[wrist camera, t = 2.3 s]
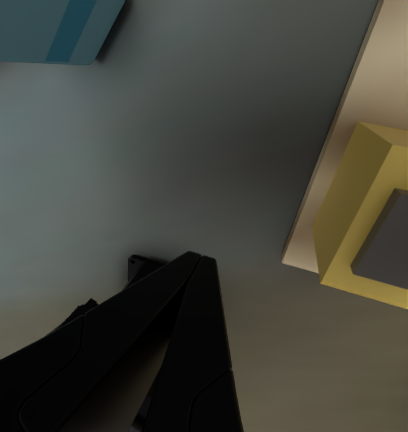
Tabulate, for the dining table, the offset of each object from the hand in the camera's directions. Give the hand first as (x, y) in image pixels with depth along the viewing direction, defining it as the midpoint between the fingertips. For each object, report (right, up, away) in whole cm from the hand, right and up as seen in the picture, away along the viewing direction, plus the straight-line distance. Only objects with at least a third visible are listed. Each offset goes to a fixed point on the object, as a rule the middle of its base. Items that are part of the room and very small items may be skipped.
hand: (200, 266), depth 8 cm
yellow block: (+11, +3, +8) cm, 13 cm away
